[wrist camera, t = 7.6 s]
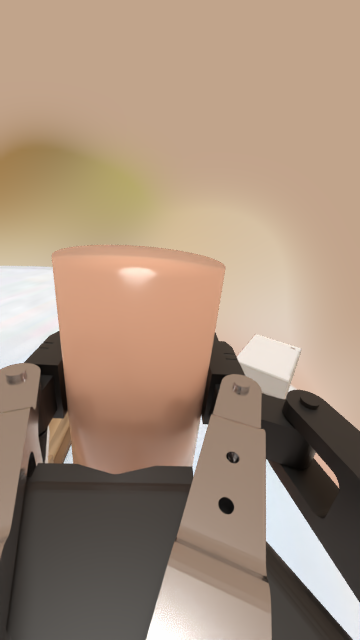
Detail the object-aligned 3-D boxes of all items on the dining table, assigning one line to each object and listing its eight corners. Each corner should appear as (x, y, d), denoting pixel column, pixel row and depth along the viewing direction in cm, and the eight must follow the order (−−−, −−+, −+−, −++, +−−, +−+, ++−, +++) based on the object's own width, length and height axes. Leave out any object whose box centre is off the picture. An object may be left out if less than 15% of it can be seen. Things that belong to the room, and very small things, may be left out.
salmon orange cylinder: (62, 571, 10) (9, 266, 5) (95, 457, 14) (84, 240, 10) (188, 570, 10) (246, 286, 6) (182, 459, 15) (210, 252, 10)
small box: (239, 398, 35) (255, 332, 31) (280, 416, 33) (302, 347, 29) (216, 435, 29) (231, 358, 25) (264, 462, 26) (290, 380, 22)
